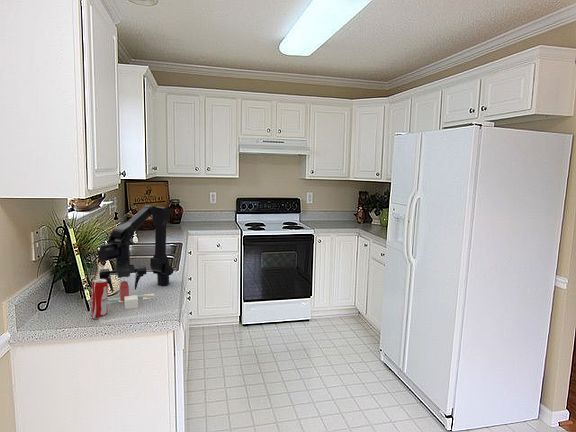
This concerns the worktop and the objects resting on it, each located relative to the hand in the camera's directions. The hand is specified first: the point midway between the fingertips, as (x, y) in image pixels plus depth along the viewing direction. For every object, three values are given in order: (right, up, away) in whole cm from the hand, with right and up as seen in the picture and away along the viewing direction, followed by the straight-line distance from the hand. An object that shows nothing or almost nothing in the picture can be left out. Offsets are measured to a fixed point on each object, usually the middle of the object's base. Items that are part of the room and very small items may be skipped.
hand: (124, 290), depth 169 cm
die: (+6, -6, -7) cm, 11 cm away
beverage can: (-3, -7, -16) cm, 18 cm away
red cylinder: (0, -4, +1) cm, 4 cm away
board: (+2, -5, +2) cm, 6 cm away
